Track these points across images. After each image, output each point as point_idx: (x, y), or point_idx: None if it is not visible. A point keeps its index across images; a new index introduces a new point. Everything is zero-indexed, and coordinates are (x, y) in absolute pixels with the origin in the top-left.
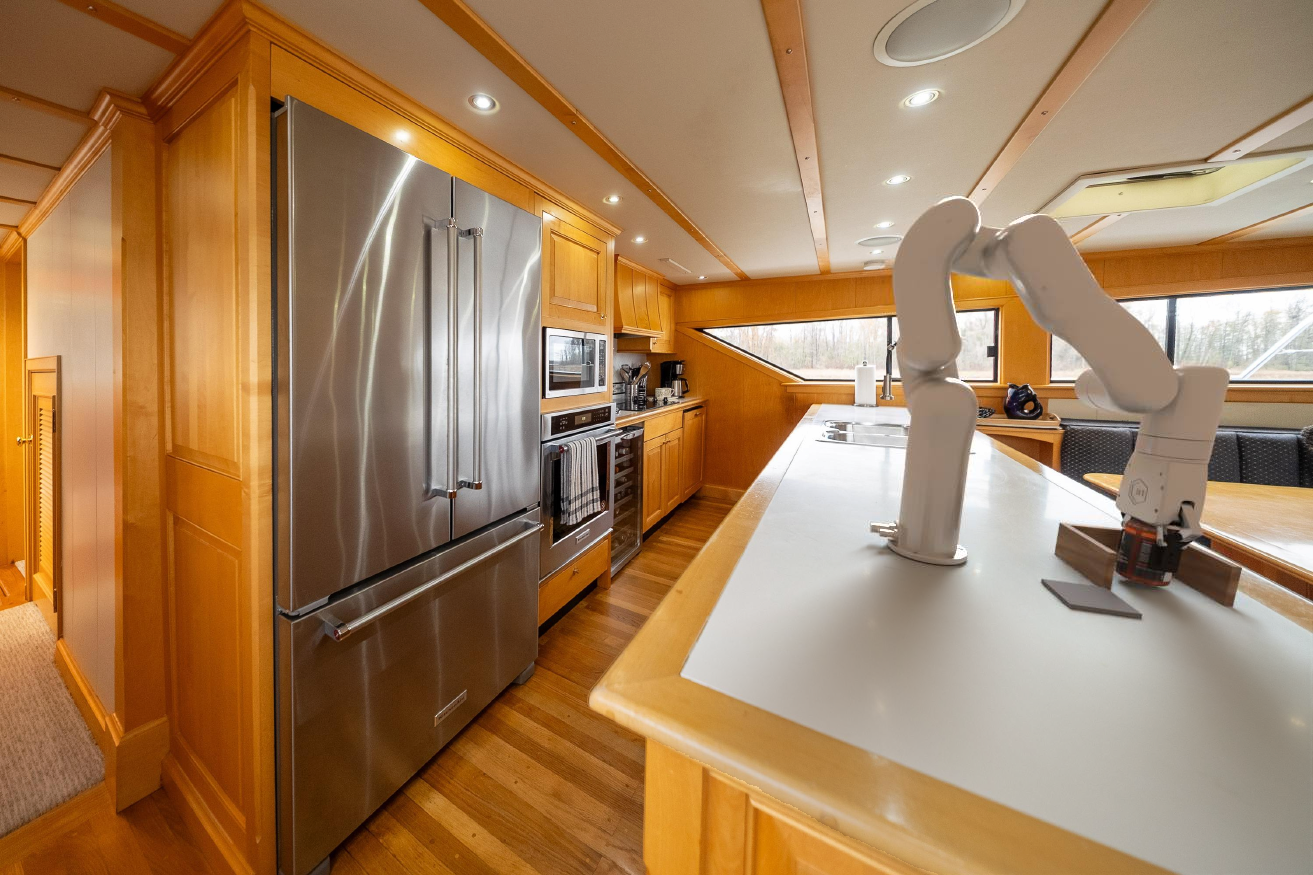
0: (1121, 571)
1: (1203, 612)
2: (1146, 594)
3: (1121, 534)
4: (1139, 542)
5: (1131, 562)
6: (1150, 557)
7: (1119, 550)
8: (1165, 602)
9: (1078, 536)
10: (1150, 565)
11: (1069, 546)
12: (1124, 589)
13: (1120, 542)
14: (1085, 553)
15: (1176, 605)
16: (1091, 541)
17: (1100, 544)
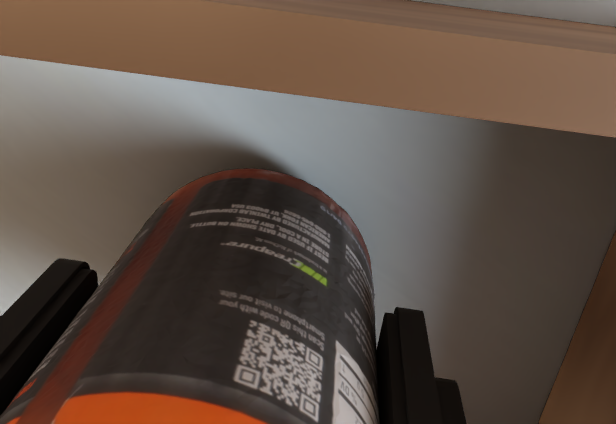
0: (241, 177)
1: (13, 294)
2: (134, 188)
3: (432, 417)
4: (68, 355)
5: (167, 227)
6: (30, 308)
7: (402, 310)
8: (61, 210)
9: (540, 40)
10: (47, 271)
11: (612, 37)
12: (165, 114)
13: (415, 356)
14: (344, 3)
15: (44, 236)
16: (279, 18)
17: (193, 58)
